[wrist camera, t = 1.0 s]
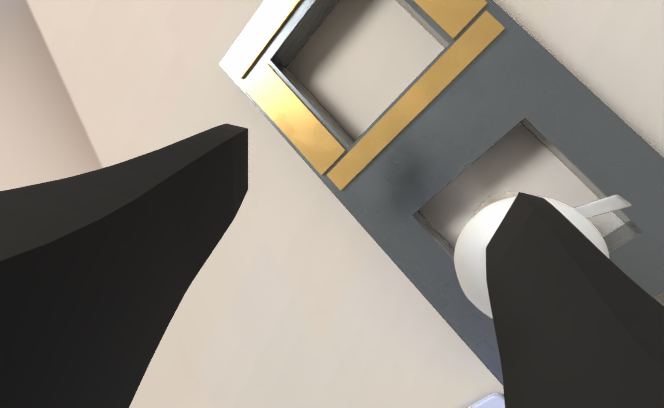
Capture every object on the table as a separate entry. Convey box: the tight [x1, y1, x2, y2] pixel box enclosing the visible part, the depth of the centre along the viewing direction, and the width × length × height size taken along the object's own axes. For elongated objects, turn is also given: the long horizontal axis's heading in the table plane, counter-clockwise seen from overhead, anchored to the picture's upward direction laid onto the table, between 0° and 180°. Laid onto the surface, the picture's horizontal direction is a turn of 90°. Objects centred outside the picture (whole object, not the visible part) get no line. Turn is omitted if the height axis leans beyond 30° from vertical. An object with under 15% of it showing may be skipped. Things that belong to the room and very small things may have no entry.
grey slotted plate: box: [219, 0, 664, 385], centre depth 19 cm, size 24×12×2 cm, turn 44°
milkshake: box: [454, 191, 631, 319], centre depth 15 cm, size 5×5×10 cm
